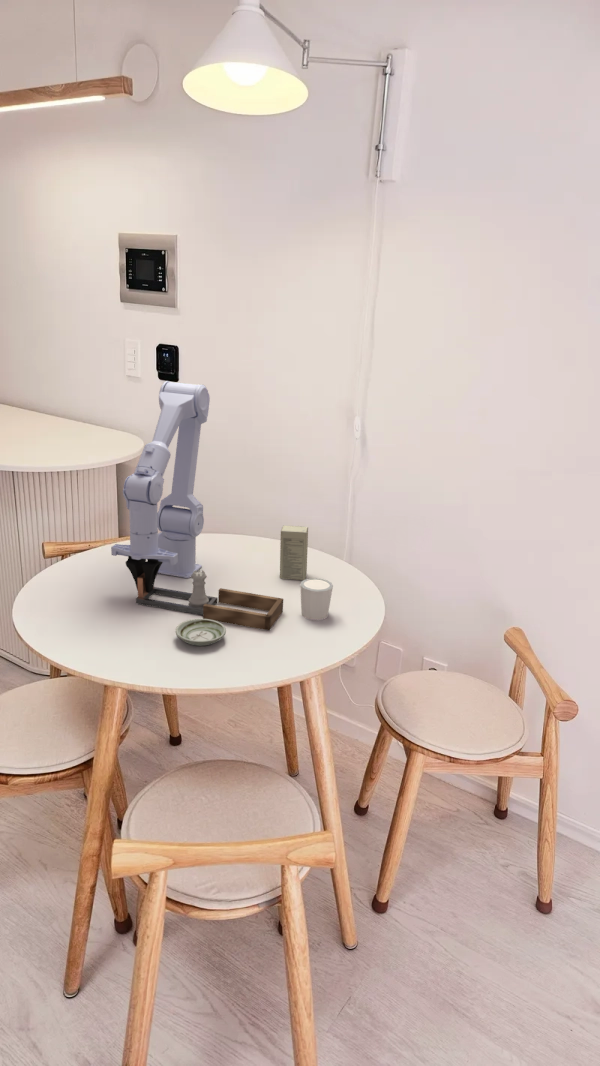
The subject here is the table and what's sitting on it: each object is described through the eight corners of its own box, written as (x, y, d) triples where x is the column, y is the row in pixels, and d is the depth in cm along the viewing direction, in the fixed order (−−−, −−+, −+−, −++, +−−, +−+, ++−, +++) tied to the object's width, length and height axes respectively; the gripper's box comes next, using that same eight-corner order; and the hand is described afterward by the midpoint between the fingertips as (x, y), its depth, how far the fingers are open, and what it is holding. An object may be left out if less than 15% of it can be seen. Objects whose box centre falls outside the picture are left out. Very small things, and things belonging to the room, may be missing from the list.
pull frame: (136, 603, 148) (135, 579, 146) (150, 591, 155) (150, 567, 153) (205, 615, 145) (205, 591, 143) (217, 602, 151) (217, 578, 149)
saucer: (211, 657, 129) (211, 645, 129) (166, 645, 132) (165, 634, 132) (234, 635, 138) (234, 624, 137) (190, 625, 141) (190, 614, 140)
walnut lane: (203, 618, 143) (203, 605, 142) (220, 600, 152) (220, 588, 151) (269, 630, 140) (269, 617, 139) (282, 611, 149) (283, 598, 148)
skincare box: (306, 574, 169) (309, 526, 165) (305, 581, 165) (308, 532, 161) (280, 571, 169) (282, 524, 165) (278, 578, 165) (280, 530, 161)
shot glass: (314, 604, 153) (316, 575, 151) (337, 615, 148) (339, 585, 146) (291, 613, 148) (293, 582, 146) (314, 624, 144) (317, 593, 141)
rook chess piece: (213, 607, 149) (213, 573, 146) (195, 613, 146) (195, 577, 143) (201, 600, 152) (202, 566, 149) (184, 605, 149) (184, 570, 146)
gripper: (102, 531, 144) (105, 591, 149) (167, 541, 141) (167, 602, 145) (119, 521, 151) (121, 579, 155) (181, 530, 147) (182, 589, 152)
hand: (145, 589), depth 151 cm, fingers closed
